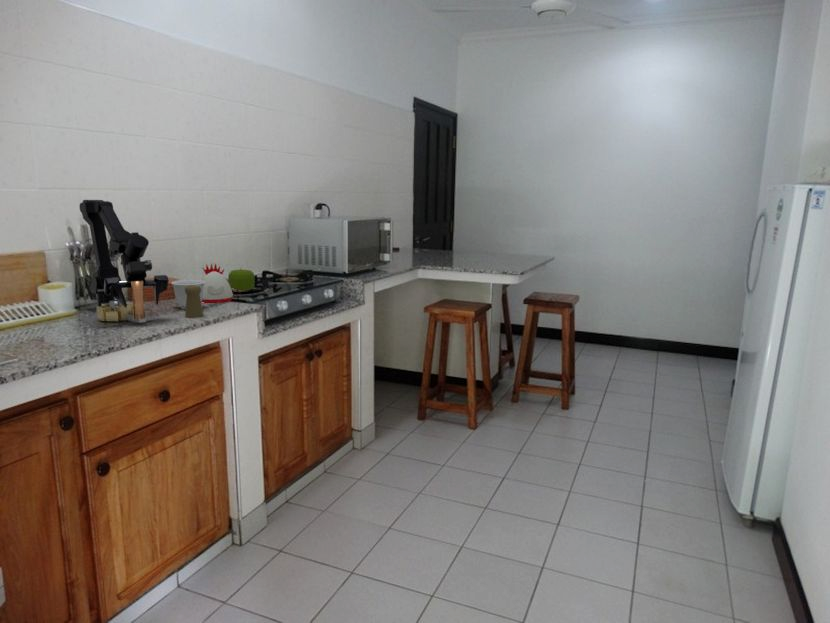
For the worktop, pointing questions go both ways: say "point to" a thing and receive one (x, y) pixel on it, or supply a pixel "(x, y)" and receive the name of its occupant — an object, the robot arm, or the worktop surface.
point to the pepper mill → (193, 301)
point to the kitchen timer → (216, 286)
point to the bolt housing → (100, 324)
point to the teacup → (180, 290)
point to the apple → (241, 279)
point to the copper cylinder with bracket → (132, 310)
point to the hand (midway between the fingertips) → (141, 305)
